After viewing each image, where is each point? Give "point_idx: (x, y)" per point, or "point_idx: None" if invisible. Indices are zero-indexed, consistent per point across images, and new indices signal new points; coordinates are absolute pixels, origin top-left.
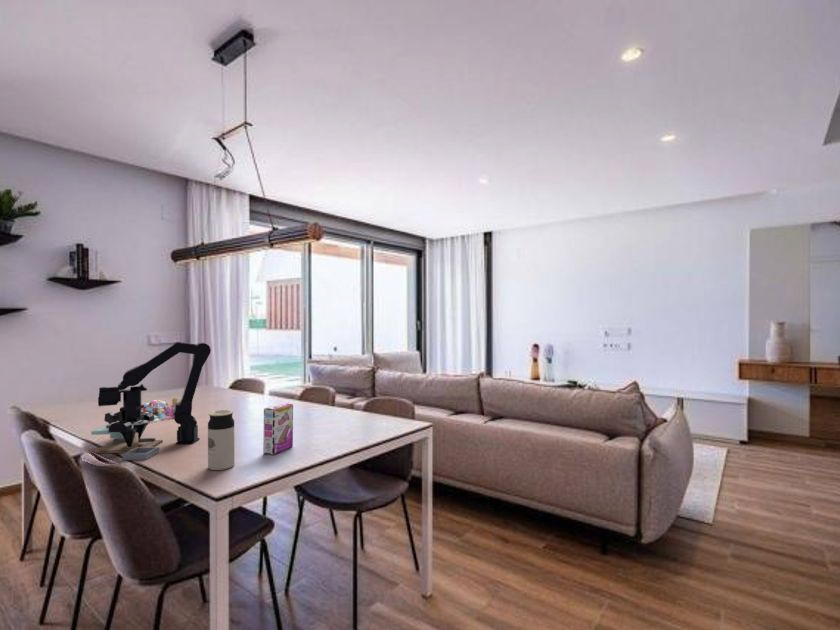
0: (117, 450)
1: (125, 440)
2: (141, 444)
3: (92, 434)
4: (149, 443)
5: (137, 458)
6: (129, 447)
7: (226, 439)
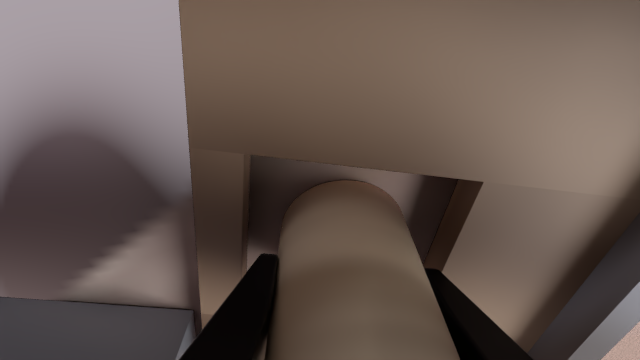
0: (188, 131)
1: (195, 345)
2: None
3: None
4: None
5: None
6: (279, 255)
7: None
